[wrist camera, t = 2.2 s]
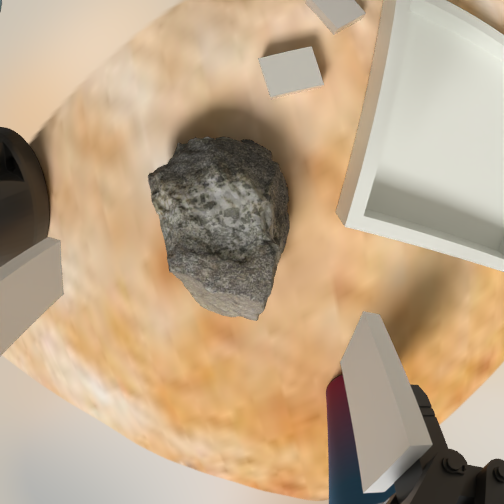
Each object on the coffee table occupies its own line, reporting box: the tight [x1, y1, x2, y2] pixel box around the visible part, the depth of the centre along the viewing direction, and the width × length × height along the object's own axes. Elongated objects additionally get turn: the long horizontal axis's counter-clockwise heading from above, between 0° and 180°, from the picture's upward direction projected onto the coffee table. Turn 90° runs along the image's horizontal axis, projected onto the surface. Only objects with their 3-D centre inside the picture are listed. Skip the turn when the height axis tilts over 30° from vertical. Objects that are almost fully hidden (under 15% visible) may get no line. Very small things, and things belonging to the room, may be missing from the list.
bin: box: [336, 0, 504, 272], centre depth 19 cm, size 17×18×4 cm
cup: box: [326, 374, 396, 504], centre depth 23 cm, size 7×7×15 cm
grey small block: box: [258, 46, 324, 99], centre depth 19 cm, size 4×3×2 cm
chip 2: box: [306, 0, 366, 35], centre depth 17 cm, size 3×3×2 cm
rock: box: [148, 137, 289, 321], centre depth 21 cm, size 13×9×6 cm, turn 16°
